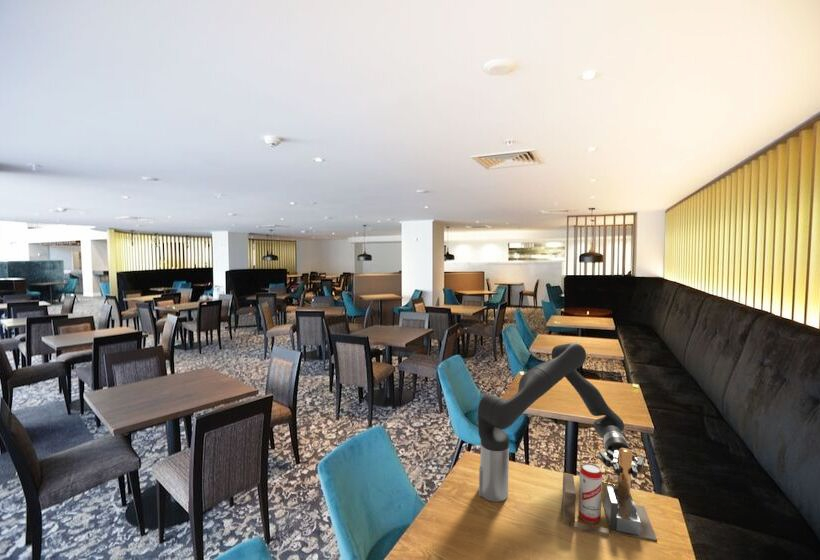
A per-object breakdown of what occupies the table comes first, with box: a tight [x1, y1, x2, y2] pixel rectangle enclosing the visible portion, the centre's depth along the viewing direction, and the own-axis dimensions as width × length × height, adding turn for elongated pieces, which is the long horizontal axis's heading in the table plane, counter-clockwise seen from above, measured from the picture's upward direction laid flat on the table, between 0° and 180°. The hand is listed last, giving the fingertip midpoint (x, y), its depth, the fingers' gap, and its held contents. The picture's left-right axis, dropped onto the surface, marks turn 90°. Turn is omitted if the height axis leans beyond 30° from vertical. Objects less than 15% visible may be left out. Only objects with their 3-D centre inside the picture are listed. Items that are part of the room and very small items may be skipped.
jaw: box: [604, 448, 641, 535], centre depth 121 cm, size 8×15×18 cm, turn 162°
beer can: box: [577, 462, 603, 524], centre depth 121 cm, size 6×6×16 cm
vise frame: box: [561, 472, 658, 542], centre depth 122 cm, size 24×17×10 cm
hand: (626, 473), depth 123 cm, fingers closed on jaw, 3 cm apart
